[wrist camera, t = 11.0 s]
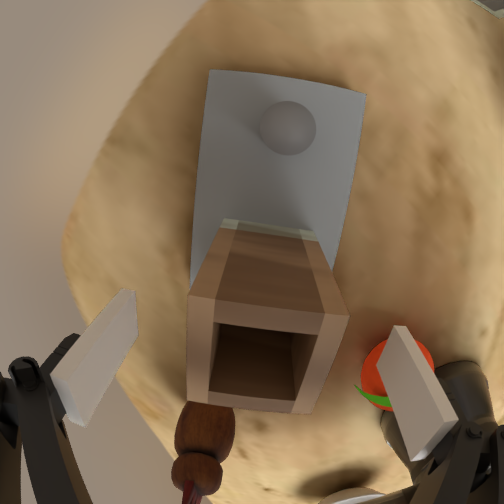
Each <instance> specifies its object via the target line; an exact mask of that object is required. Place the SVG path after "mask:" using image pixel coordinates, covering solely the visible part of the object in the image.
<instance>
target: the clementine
mask: <svg viewBox="0 0 504 504" xmlns="http://www.w3.org/2000/svg"><path fill="white" fill-rule="evenodd" d="M387 340H388V339H387ZM387 340H384V341H383V342H381V343H379V344H378V345H377V346H376V347H374V348H373V350H372V351H371V352H370V353H369V355H368V356H367V357H366V359H365V361H364V363H363V368H362V372H361V383H362V389H363V391H364V392H363V391H361V390H360V389H359V388H358V387H357V386H355V387H356V388H357V389H358V391H359V392H360V393H361V394H362V395H363V396H364V397H366V398H367V399H368V400H369V401H370V402H371V403H372V404H373V405H375V406H376V407H378V408H380V409H383V410H386V411H393V408H392V405H391V403H390V400H389V397H388V395H387V392H386V389H385V387H384V384H383V381H382V379H381V376H380V374H379V371H378V369H377V366H376V365H377V362H378V360H379V358H380V356H381V354H382V352H383V349H384V347H385V345H386V342H387ZM415 342H416V343H417V345H418V347H419V348H420V350H421V352H422V353H423V355H424V357H425V358H426V360H427V362H428V364H429V365H430V367H431V369H432V371H433V372H434V363H433V360H432V357H431V355H430V352H429V351H428V350H427V349H426V347H425V346H424V345H423V344H422V343H421V342H419V341H416V340H415Z"/></svg>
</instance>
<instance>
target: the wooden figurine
mask: <svg viewBox="0 0 504 504" xmlns="http://www.w3.org/2000/svg"><path fill="white" fill-rule="evenodd" d="M234 435H235V416H234V412H233V409H232V407H225V406H218V405H212V404H206V403H200V402H194V401H188V402H187V403H186V405H185V406H184V408H183V410H182V412H181V415H180V417H179V420H178V423H177V427H176V431H175V440H174V444H175V449H176V452H177V454H178V456H179V457H178V458H177V459H176V460H175V461H174V463H173V467H172V471H171V475H172V476H171V477H172V481H173V484H174V486H175V487H176V488H178V489H180V490H181V491H183V498H182V504H200V502H201V499H202V496H205V495H211V494H214V493H215V492H216V491H217V490H218V489H219V487H220V485H221V481H222V474H223V470H222V467H221V465H220V463H221V462H223V461H224V460H225V459H226V458H227V457H228V455H229V453H230V450H231V448H232V445H233V441H234Z"/></svg>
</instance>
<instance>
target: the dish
mask: <svg viewBox="0 0 504 504" xmlns="http://www.w3.org/2000/svg"><path fill="white" fill-rule="evenodd" d="M384 495H386V494H383V493H379V492H377V491H375V490H373V489H369V488H362V487H359V488H350V489H343V490H341V491H338V492H336V493H333V494H331V495H329V496H327V497H326V498H324V499H323V500H322V501H320V502H319V503H318V504H356V503H360V502H364V501H367V500H371V499H374V498H378V497H381V496H384Z"/></svg>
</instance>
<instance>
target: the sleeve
mask: <svg viewBox="0 0 504 504" xmlns="http://www.w3.org/2000/svg"><path fill="white" fill-rule="evenodd" d="M349 318H350V314H349V312H348V309H347V307H346V304H345V302H344V299H343V297H342V295H341V292H340V290H339V287H338V285H337V283H336V280H335V278H334V276H333V273H332V271H331V269H330V267H329V264H328V262H327V260H326V257H325V255H324V253H323V251H322V249H321V246H320V244H319V242H318V240H317V238H316V235H315V233H314V231H309V230H302V229H296V228H289V227H283V226H276V225H269V224H262V223H255V222H248V221H241V220H234V219H226V218H224V219H223V221H222V223H221V225H220V227H219V229H218V232H217V234H216V236H215V238H214V240H213V242H212V244H211V246H210V248H209V250H208V252H207V254H206V257H205V259H204V261H203V263H202V265H201V267H200V269H199V271H198V274H197V276H196V278H195V280H194V282H193V284H192V287H191V289H190V291H189V293H188V299H187V345H186V381H187V400H189V401H194V402H200V403H206V404H212V405H218V406H225V407H232V408H239V409H248V410H257V411H267V412H279V413H293V414H311V413H312V410H313V408H314V406H315V404H316V402H317V399H318V397H319V395H320V393H321V390H322V388H323V386H324V383H325V381H326V378H327V376H328V374H329V371H330V369H331V366H332V364H333V361H334V359H335V356H336V354H337V351H338V348H339V346H340V343H341V341H342V338H343V335H344V332H345V330H346V327H347V324H348V321H349Z"/></svg>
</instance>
